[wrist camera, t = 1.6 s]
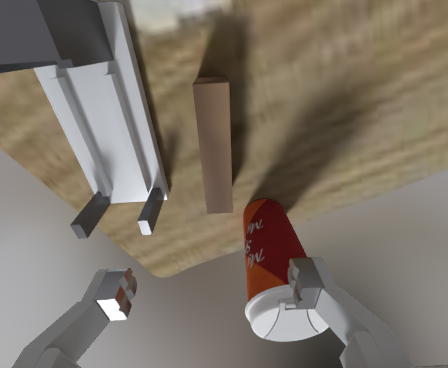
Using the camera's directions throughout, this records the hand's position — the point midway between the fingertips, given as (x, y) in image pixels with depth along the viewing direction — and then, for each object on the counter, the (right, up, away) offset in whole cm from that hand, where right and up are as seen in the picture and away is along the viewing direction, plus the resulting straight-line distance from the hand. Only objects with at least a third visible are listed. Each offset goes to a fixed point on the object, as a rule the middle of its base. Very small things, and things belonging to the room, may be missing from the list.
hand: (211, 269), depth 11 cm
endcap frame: (-12, +11, +13) cm, 21 cm away
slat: (0, +10, +15) cm, 18 cm away
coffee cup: (+7, 0, +21) cm, 22 cm away
